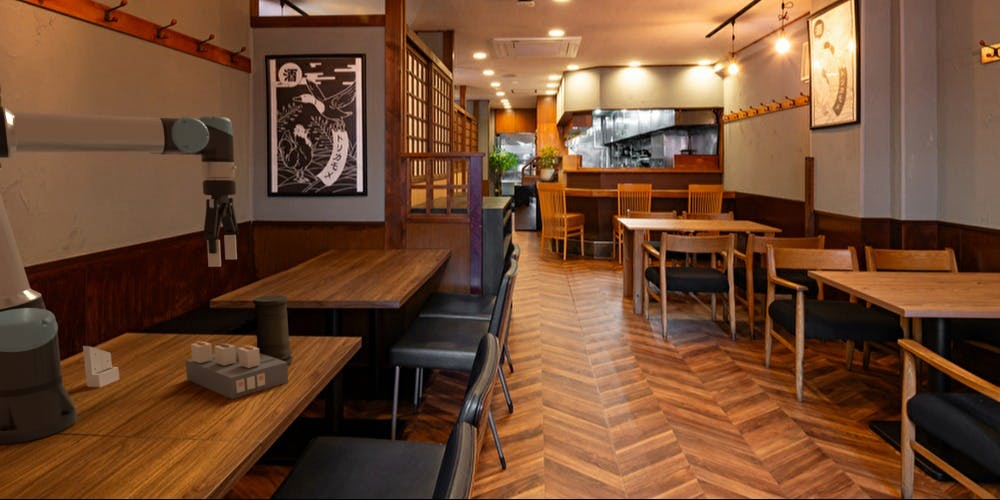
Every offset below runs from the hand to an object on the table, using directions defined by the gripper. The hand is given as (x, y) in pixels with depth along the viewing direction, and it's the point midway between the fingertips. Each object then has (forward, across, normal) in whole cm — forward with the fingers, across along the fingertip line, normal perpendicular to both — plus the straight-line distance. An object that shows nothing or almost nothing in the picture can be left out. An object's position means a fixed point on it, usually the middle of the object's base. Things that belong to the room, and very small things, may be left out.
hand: (223, 262), depth 155 cm
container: (+28, +1, -11) cm, 30 cm away
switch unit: (+28, -11, -5) cm, 30 cm away
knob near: (+22, -16, -10) cm, 29 cm away
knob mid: (+22, -13, -3) cm, 26 cm away
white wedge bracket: (+28, -7, +27) cm, 40 cm away
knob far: (+22, -10, +3) cm, 25 cm away
